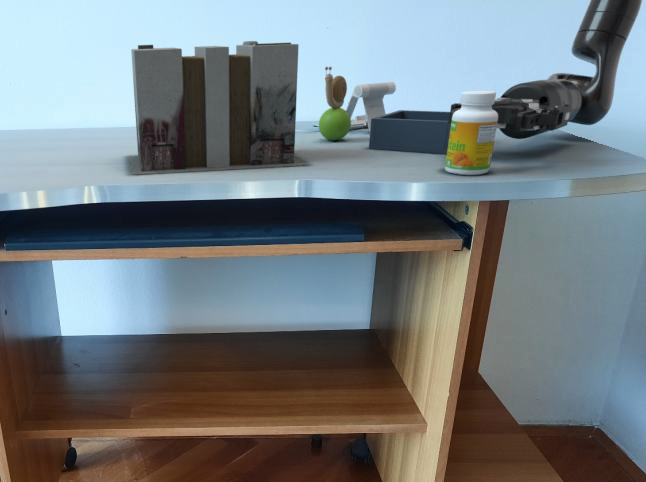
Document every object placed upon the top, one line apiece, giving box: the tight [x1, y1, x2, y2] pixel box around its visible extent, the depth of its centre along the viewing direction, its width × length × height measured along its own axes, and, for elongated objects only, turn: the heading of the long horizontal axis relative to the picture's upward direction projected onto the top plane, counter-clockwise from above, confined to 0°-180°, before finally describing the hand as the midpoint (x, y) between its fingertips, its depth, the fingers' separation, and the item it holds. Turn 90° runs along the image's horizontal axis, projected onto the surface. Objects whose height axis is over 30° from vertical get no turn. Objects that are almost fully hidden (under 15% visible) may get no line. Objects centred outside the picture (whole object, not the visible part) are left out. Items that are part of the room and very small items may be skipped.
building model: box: [129, 40, 307, 176], centre depth 94 cm, size 16×25×16 cm, turn 96°
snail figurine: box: [318, 66, 352, 142], centre depth 108 cm, size 5×6×12 cm
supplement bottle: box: [444, 90, 498, 176], centre depth 81 cm, size 5×5×10 cm
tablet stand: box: [344, 81, 397, 133], centre depth 119 cm, size 9×8×8 cm
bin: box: [368, 109, 451, 155], centre depth 102 cm, size 13×13×5 cm
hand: (484, 120), depth 83 cm, fingers open, 8 cm apart
